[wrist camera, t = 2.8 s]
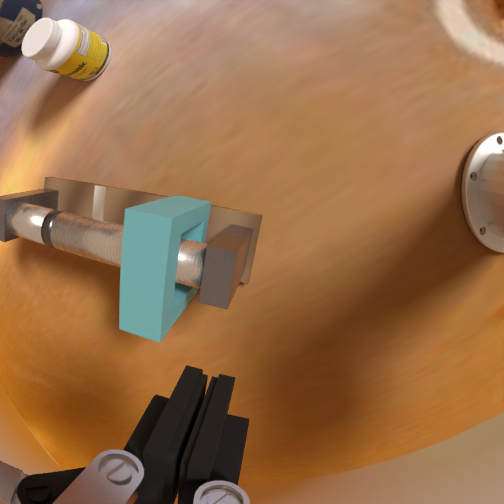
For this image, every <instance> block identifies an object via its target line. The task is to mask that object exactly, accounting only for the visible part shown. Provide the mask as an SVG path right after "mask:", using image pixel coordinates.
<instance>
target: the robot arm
mask: <svg viewBox="0 0 504 504" xmlns="http://www.w3.org/2000/svg"><path fill="white" fill-rule="evenodd" d="M470 175H471V177H470ZM461 189H462V203H463V208H464V213H465V216H466V219H467V223H468V225H469V227H470V229H471V231H472V233H473V234H474V235H475V237H476V238H477V239H478V240H479V241H480V242H481V243H482V244H483V245H484V246H486V247H488V248H490V249H492V250H494V251H497V252H502V253H504V132H499V133H493V134H489V135H487V136H485V137H484V138H482V139H480V141H479V142H478V143H477V144H476V145H475V146H474V147H473V149H472V151H471V152H470V154H469V156H468V159H467V161H466V164H465V167H464V172H463V176H462V188H461ZM202 373H203V370H202V369H198V368H195V367H191V366H186V367H185V369H184V371H183V373H182V375H181V377H180V379H179V381H178V383H177V385H176V387H175V389H174V391H173V393H172V395H171V397H170V399H169V398H166V397H162V396H159V395H155V396H154V397H153V399H152V400H151V402H150V404H149V405H148V407H147V409H146V411H145V412H144V414H143V416H142V418H141V419H140V421H139V423H138V425H137V427H136V428H135V430H134V432H133V434H132V435H131V437H130V439H129V441H128V442H127V444H126V446H125V448H124V449H123V450H117V449H114V450H107V451H104V452H101V453H100V454H99V455H98V456H96V457H95V458H94V459H93V461H92V462H91V463H90V464H89V465H88V466H87V467H83V468H78V469H72V470H65V471H59V472H52V473H43V474H34V475H27V474H25V473H23V471H22V470H20V469H18V468H15V467H13V466H11V465H8V464H6V463H4V462H2V461H0V504H174V502H175V499H176V496H177V493H178V504H250V501H249V497H248V495H247V494H246V492H245V491H244V490H243V489H242V488H240V487H239V486H238V480H239V475H240V469H241V464H242V458H243V453H244V447H245V441H246V436H247V430H248V424H249V419H247V418H242V417H237V416H233V415H229V414H227V413H228V409H229V404H230V400H231V395H232V391H233V386H234V382H235V377H230V376H226V375H222V374H219V377H218V378H217V377H213V376H212V378H211V381H210V384H209V387H208V389H207V392H206V395H205V391H206V384H207V378H208V375H205V374H202ZM204 397H205V398H204ZM178 490H179V491H178Z"/></svg>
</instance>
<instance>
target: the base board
mask: <svg viewBox="0 0 504 504" xmlns="http://www.w3.org/2000/svg"><path fill="white" fill-rule="evenodd" d="M45 188H49V189H55V190H59V194H58V209H57V210H59V211H63V212H67V213H72V214H76V215H81V216H85V217H90V218H94V219H99V220H103V221H107V222H112V223H116V224H121V225H124V217H125V209H126V208H130V207H133V206H137V205H141V204H145V203H148V202H152V201H156V200H160V199H164V198H168V196H162V195H157V194H151V193H146V192H140V191H134V190H129V189H123V188H117V187H111V186H105V185H99V184H93V183H86V182H80V181H74V180H67V179H60V178H54V177H45V185H44V189H45ZM261 220H262V215H258V214H253V213H249V212H244V211H239V210H234V209H229V208H224V207H219V206H214V205H211V208H210V214H209V220H208V226H207V232H206V238H205V243H206V244H210V243H211V242H212V241H213V240H214V239H216V238H217V237H218V236H219V235H220V234H221V233H222V232H223V231H224V230H225V229H226V228H228V227H229V226H230V225H231V224H234V225H239V226H243V227H248V228H252V229H253V233H252V238H251V243H250V248H249V253H248V258H247V263H246V268H245V272H244V274H243V276H242V278H241V280H240V282H242V283H246V284H248V282H249V278H250V274H251V269H252V264H253V259H254V254H255V249H256V244H257V239H258V235H259V230H260V225H261Z"/></svg>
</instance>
